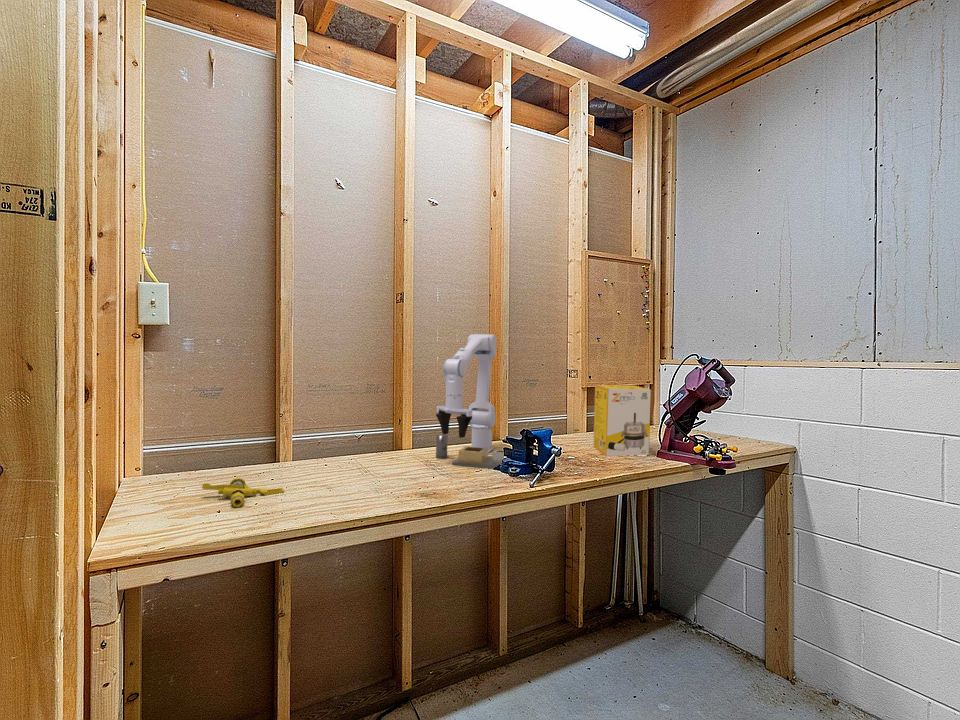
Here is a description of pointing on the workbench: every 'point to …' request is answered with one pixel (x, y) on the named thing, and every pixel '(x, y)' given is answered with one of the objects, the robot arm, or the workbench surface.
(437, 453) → the dark grey cylinder
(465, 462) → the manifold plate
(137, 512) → the workbench surface
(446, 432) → the robot arm
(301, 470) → the workbench surface
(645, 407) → the packaging box
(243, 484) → the sprinkler
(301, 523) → the workbench surface
